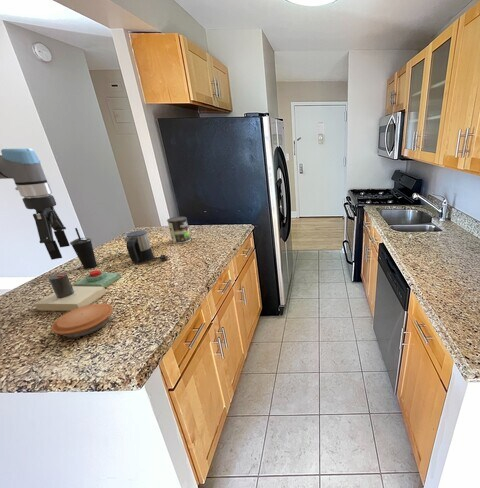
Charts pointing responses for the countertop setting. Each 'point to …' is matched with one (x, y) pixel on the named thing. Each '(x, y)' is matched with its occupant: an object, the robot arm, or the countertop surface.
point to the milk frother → (140, 247)
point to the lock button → (95, 273)
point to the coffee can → (179, 229)
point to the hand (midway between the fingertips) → (61, 252)
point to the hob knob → (61, 285)
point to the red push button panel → (98, 280)
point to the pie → (83, 320)
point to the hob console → (71, 299)
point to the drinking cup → (84, 251)
